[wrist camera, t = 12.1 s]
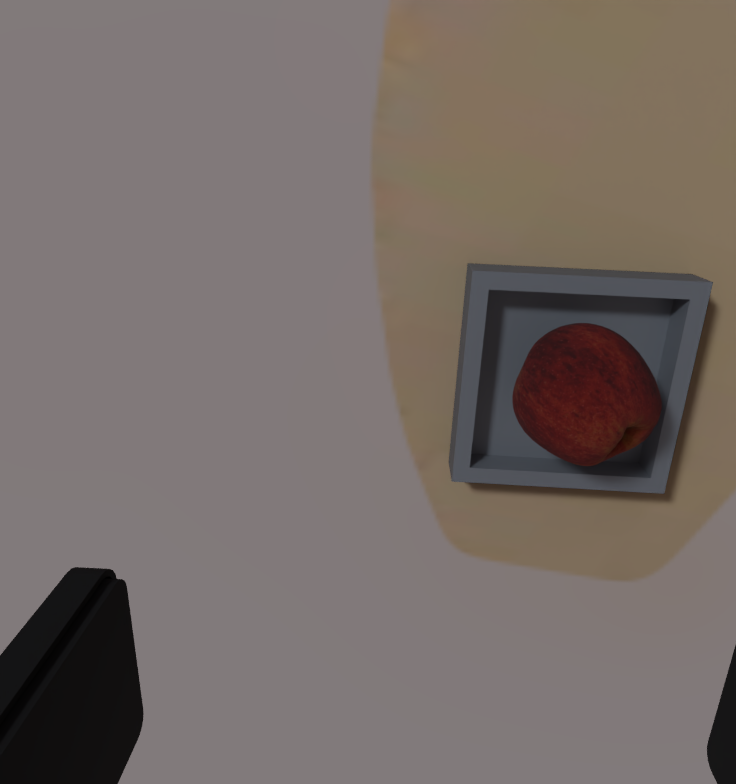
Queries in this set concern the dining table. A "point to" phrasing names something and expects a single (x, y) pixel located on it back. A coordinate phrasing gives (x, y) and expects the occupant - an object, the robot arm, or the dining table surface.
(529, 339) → the tray
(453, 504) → the dining table surface
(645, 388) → the apple
